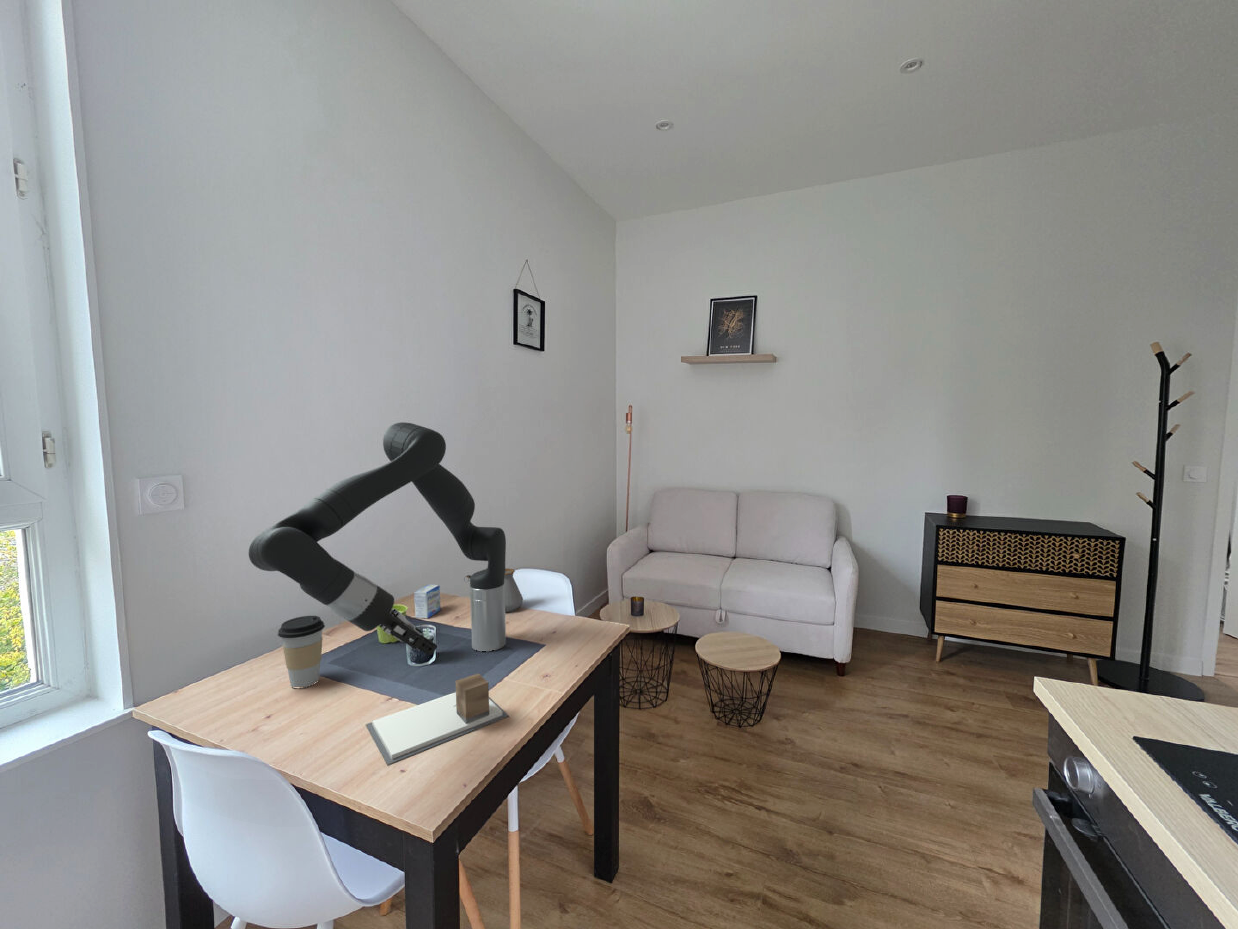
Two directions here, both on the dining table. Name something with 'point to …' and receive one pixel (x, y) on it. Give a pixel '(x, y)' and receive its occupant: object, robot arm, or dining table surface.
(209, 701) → the dining table surface
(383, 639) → the plant pot
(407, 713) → the board
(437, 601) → the medicine box
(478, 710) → the block
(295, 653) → the coffee cup
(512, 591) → the coffee pot
